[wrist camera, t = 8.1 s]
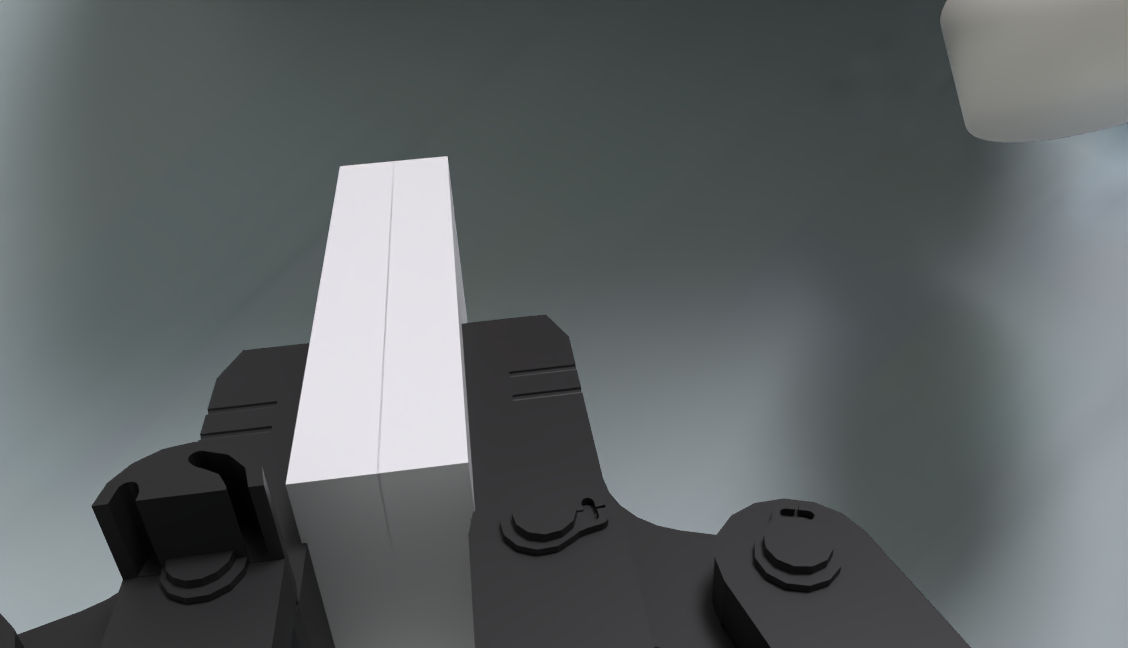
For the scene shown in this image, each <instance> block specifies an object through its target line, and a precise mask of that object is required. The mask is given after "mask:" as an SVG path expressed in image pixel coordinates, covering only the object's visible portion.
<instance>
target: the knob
mask: <svg viewBox="0 0 1128 648" xmlns="http://www.w3.org/2000/svg"><path fill="white" fill-rule="evenodd" d="M940 23H941V29H942V33H943V38H944V42H945V46H946V50H947V54H948V58H949V62H950V66H951V70H952V74H953V78H954V82H955V86H956V90H957V94H958V98H959V102H960V107H961V111H962V115H963V119H964V123H965V127H966V129H967V131H968V132H969V133H970V134H972V135H973V136H975V137H977V138H979V139H983V140H987V141H993V142H1006V143H1018V142H1034V141H1044V140H1051V139H1058V138H1064V137H1069V136H1075V135H1080V134H1085V133H1089V132H1094V131H1098V130H1102V129H1106V128H1110V127H1114V126H1118V125H1121V124H1125V123H1128V0H947V1H946V3H945V5H944V7H943V9H942V13H941V17H940Z"/></svg>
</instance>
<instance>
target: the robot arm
mask: <svg viewBox="0 0 1128 648" xmlns="http://www.w3.org/2000/svg"><path fill="white" fill-rule="evenodd" d="M200 435H201V440H199V441H198V442H192V443H188V444H184V445H179V446H175V447H171V448H166V449H162V450H160V451H158V452H156V453H154V454H152V455H150V456H147V457H145V458H143V459H141V460H139V461H137V462H135V463H133V464H131V465H130V466H128V467H127V468H126V469H125V470H123V471H122V472H121V473H120V474H118V475H117V476H116V477H115V478H113V479H112V480H111V481H109V482H108V483H107V484H106V486H105V487H104V489H103V490H102V491H101V493H100V494H99V496H98V497H97V499H96V500H95V502H94V503H93V505H92V508H93V511H94V513H95V515H96V518H97V520H98V522H99V525H100V527H101V529H102V532H103V534H104V536H105V539H106V541H107V543H108V546H109V548H110V550H111V553H112V555H113V557H114V560H115V562H116V564H117V567H118V569H119V571H120V574H121V576H122V578H123V581H122V584H121V587H120V590H119V592H118V593H117V594H115V595H114V596H112V597H110V598H109V599H107V600H105V601H103V602H101V603H98V604H96V605H94V606H92V607H90V608H87V609H85V610H83V611H81V612H78V613H75V614H72V615H70V616H67V617H64V618H61V619H59V620H56V621H53V622H51V623H48V624H45V625H42V626H40V627H37V628H34V629H32V630H29V631H26V632H23V633H21V634H18V635H17V633H16V631H15V630H14V628H13V627H12V626H11V625H10V624H9V623H8V622H7V620H6V619H5V618H4V617H3V616H2V615H1V614H0V648H971V647H970V646H969V645H968V644H967V643H966V642H965V640H964V639H963V638H962V637H961V636H960V635H959V634H958V633H957V632H956V631H955V629H954V628H953V627H952V626H951V625H950V624H949V623H948V622H947V621H946V620H945V618H944V617H943V616H942V615H941V614H940V613H939V612H938V611H937V610H936V609H935V607H934V606H933V605H932V604H931V603H930V602H929V601H928V600H927V599H926V598H925V596H924V595H923V594H922V593H921V592H920V591H919V590H918V589H917V588H916V587H915V586H914V584H913V583H912V582H911V581H910V580H909V579H908V578H907V577H906V576H905V575H904V573H903V572H902V571H901V570H900V569H899V568H898V567H897V566H896V565H895V564H894V562H893V561H892V560H891V559H890V558H889V557H888V556H887V555H886V554H885V553H884V551H883V550H882V549H881V548H880V547H879V546H878V545H877V544H876V543H875V542H874V540H873V539H872V538H871V537H870V536H869V535H868V534H867V533H866V532H865V531H864V530H863V529H861V528H860V527H859V526H858V525H856V524H855V523H854V522H852V521H851V520H850V519H849V518H847V517H846V516H845V515H844V514H842V513H839V512H837V511H834V510H832V509H829V508H827V507H824V506H822V505H819V504H817V503H814V502H807V501H798V500H790V499H778V500H772V501H766V502H759V503H754V504H752V505H750V506H748V507H747V508H745V509H743V510H741V511H739V512H737V513H735V514H733V515H732V516H731V517H730V518H729V520H728V521H727V522H726V523H725V525H724V526H723V527H722V529H721V530H720V531H719V533H718V534H717V535H712V534H704V533H696V532H688V531H680V530H675V529H670V528H666V527H661V526H657V525H654V524H652V523H650V522H647V521H645V520H643V519H640V518H638V517H636V516H635V515H633V514H632V513H630V512H629V511H627V510H626V509H625V508H623V507H622V506H620V505H619V503H618V502H617V501H616V500H615V499H614V498H613V496H612V495H611V494H610V493H609V491H608V489H607V487H606V484H605V482H604V480H603V477H602V473H601V469H600V465H599V460H598V456H597V452H596V448H595V444H594V440H593V436H592V431H591V427H590V423H589V419H588V415H587V411H586V407H585V402H584V398H583V394H582V393H581V386H580V382H579V378H578V374H577V370H576V367H575V361H574V357H573V353H572V349H571V345H570V340H569V337H568V336H567V335H566V334H565V333H564V332H563V331H562V330H561V329H560V328H559V327H558V326H557V325H556V324H555V323H554V322H553V321H552V320H551V319H550V318H548V317H547V316H546V315H537V316H528V317H519V318H509V319H500V320H491V321H482V322H473V323H468V322H467V313H466V305H465V296H464V288H463V280H462V271H461V263H460V255H459V247H458V238H457V230H456V222H455V214H454V205H453V197H452V189H451V181H450V172H449V164H448V156H444V157H433V158H423V159H412V160H401V161H391V162H380V163H369V164H359V165H348V166H340V169H339V175H338V181H337V187H336V192H335V198H334V204H333V210H332V216H331V222H330V227H329V233H328V239H327V245H326V251H325V257H324V263H323V268H322V274H321V280H320V286H319V292H318V298H317V304H316V309H315V315H314V321H313V327H312V333H311V339H310V343H307V344H298V345H289V346H280V347H270V348H261V349H252V350H243V351H242V352H241V353H240V354H239V355H238V357H237V358H236V359H235V360H234V361H233V362H232V363H231V364H230V365H229V366H228V367H227V368H226V369H225V371H224V372H223V373H222V374H221V375H220V376H219V377H218V378H217V380H216V383H215V387H214V390H213V393H212V397H211V400H210V403H209V407H208V415H206V417H205V420H204V423H203V427H202V430H201V433H200Z"/></svg>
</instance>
